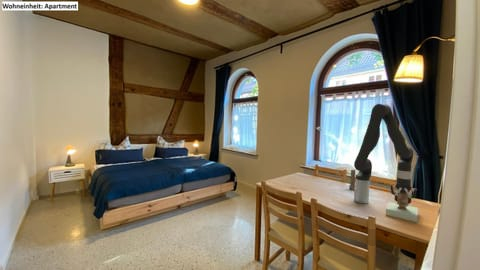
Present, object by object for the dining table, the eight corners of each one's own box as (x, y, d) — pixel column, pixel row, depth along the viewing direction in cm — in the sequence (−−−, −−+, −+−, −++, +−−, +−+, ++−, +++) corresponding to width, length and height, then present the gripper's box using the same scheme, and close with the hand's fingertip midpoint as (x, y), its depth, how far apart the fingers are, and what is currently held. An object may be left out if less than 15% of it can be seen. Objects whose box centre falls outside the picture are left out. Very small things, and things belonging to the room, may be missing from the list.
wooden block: (362, 189, 191) (363, 169, 190) (351, 190, 189) (352, 170, 188) (359, 188, 195) (360, 168, 193) (349, 188, 193) (349, 169, 192)
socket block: (385, 214, 139) (386, 208, 139) (388, 207, 152) (388, 201, 151) (417, 222, 129) (417, 215, 129) (417, 213, 141) (417, 207, 141)
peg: (396, 210, 140) (396, 192, 139) (396, 207, 144) (397, 190, 144) (407, 212, 136) (408, 195, 135) (408, 209, 140) (409, 192, 140)
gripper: (418, 178, 137) (416, 203, 138) (391, 174, 146) (389, 198, 147) (418, 180, 131) (416, 206, 132) (389, 176, 140) (388, 201, 141)
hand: (402, 202), depth 140 cm, fingers closed on peg, 6 cm apart
